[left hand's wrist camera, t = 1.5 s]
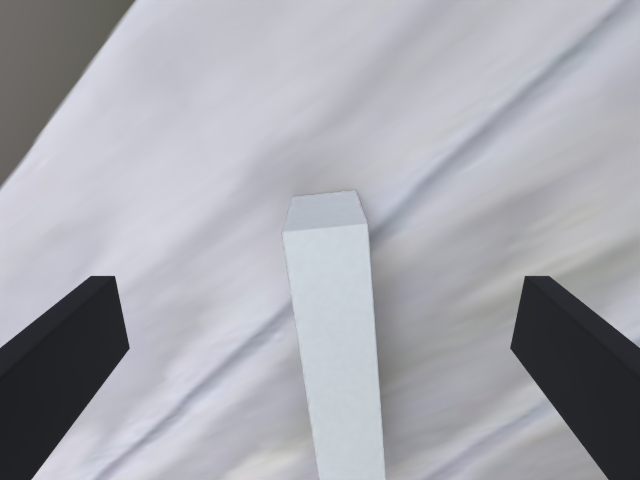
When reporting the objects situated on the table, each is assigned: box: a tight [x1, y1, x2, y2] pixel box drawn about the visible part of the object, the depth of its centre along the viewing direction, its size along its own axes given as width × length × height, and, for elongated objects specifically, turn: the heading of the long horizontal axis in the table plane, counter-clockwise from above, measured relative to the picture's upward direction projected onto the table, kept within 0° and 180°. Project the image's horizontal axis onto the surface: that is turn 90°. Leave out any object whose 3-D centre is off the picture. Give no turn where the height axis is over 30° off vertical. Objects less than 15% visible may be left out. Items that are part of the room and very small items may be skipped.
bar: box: [282, 190, 386, 480], centre depth 32 cm, size 28×5×9 cm, turn 6°
